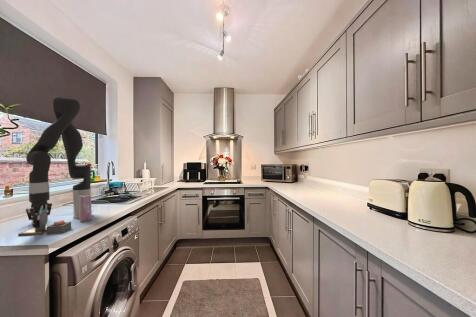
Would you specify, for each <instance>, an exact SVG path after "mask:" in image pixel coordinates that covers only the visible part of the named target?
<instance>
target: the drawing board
mask: <svg viewBox="0 0 476 317" xmlns="http://www.w3.org/2000/svg"><path fill="white" fill-rule="evenodd" d="M47 226H48V225H46V230H45V231H41V232H35V228H34V227H32V228H30V229H27V230H25V231H23V232H20V233H18V234H17V236H18V237H22V236H25V237H26V236H42V235H44V234H47Z"/></svg>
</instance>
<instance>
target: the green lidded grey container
mask: <svg viewBox="0 0 476 317" xmlns="http://www.w3.org/2000/svg"><path fill="white" fill-rule="evenodd" d="M45 212H46V209H43V210H42V213H41V215H40V218H39V220H40V227H39V228H35V232H41V231H45V230H46V226H47V224H46V218H45ZM37 213H39V212H37ZM35 214H36V213H35ZM36 217H37V215H36Z"/></svg>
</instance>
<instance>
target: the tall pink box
mask: <svg viewBox="0 0 476 317" xmlns="http://www.w3.org/2000/svg"><path fill="white" fill-rule="evenodd" d="M92 217H93V216H92V195H80V196H79V218H78V220H79V223H87V222H90V221H92V220H93V219H92Z"/></svg>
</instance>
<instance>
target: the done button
mask: <svg viewBox="0 0 476 317" xmlns="http://www.w3.org/2000/svg"><path fill="white" fill-rule="evenodd" d="M64 222H65V220H57V221H54V222H53V224H54V226H57V225H63V224H64Z"/></svg>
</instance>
